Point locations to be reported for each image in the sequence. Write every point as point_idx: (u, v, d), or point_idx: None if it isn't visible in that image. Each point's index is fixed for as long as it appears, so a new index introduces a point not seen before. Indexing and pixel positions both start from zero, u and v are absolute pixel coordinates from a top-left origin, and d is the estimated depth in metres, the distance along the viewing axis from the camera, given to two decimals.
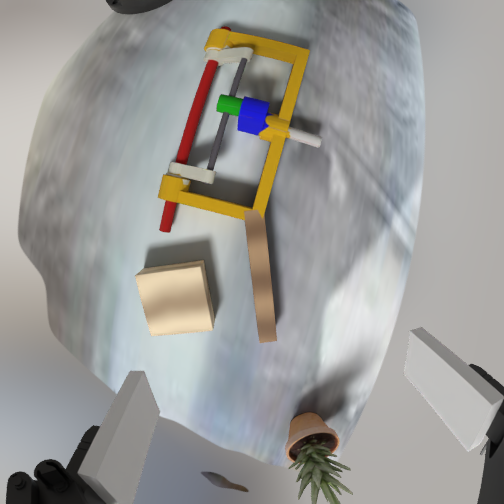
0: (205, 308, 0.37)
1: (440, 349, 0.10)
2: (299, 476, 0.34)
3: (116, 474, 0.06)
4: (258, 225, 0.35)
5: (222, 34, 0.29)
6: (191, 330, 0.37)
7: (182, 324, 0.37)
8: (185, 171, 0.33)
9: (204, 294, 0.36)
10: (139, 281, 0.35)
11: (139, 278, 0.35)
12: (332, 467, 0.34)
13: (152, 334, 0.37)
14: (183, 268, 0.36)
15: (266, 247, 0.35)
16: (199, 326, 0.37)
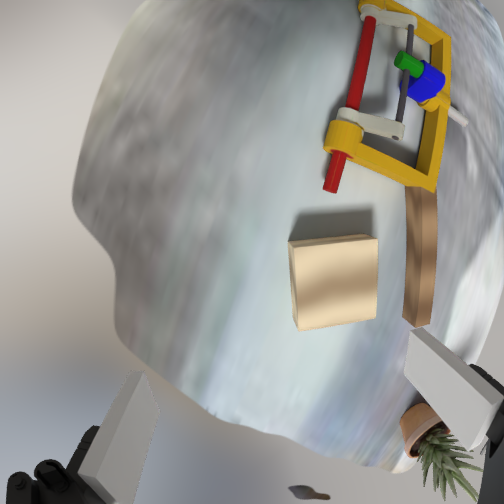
0: (374, 291, 0.29)
1: (440, 349, 0.10)
2: (426, 469, 0.26)
3: (116, 474, 0.06)
4: (431, 195, 0.27)
5: None
6: (352, 319, 0.29)
7: (343, 313, 0.29)
8: (366, 120, 0.25)
9: (376, 273, 0.28)
10: (298, 256, 0.27)
11: (299, 252, 0.27)
12: None
13: (300, 329, 0.29)
14: (356, 240, 0.28)
15: (436, 219, 0.27)
16: (362, 314, 0.29)
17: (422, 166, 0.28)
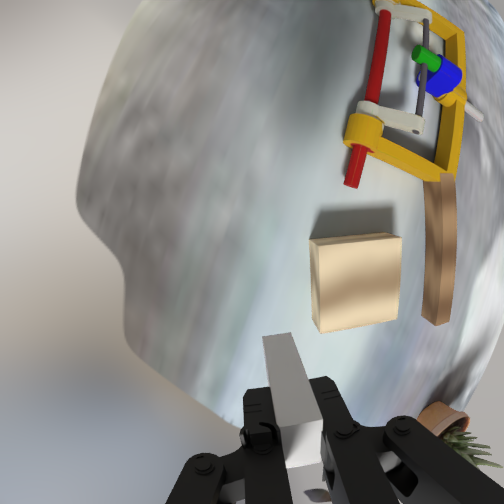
0: (396, 291, 0.27)
1: (291, 356, 0.12)
2: None
3: None
4: (450, 190, 0.25)
5: None
6: (374, 321, 0.27)
7: (366, 314, 0.27)
8: (386, 114, 0.23)
9: (399, 273, 0.26)
10: (323, 255, 0.26)
11: (324, 250, 0.26)
12: None
13: (322, 331, 0.27)
14: (381, 239, 0.26)
15: (455, 215, 0.26)
16: (384, 315, 0.27)
17: (441, 161, 0.26)
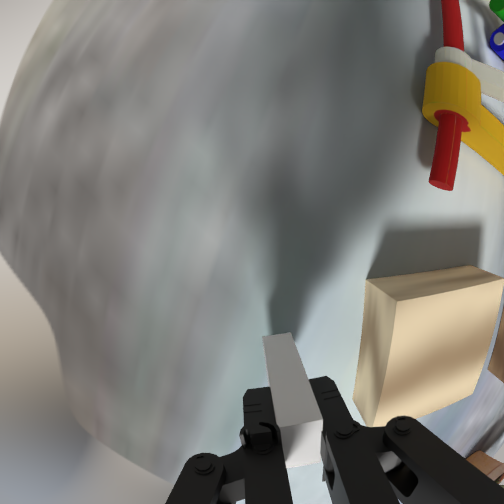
0: (482, 358, 0.13)
1: (291, 356, 0.12)
2: None
3: None
4: None
5: None
6: (446, 403, 0.14)
7: (439, 397, 0.13)
8: (484, 72, 0.09)
9: (492, 332, 0.13)
10: (402, 317, 0.12)
11: (405, 309, 0.12)
12: None
13: None
14: (481, 282, 0.12)
15: None
16: (460, 392, 0.14)
17: None
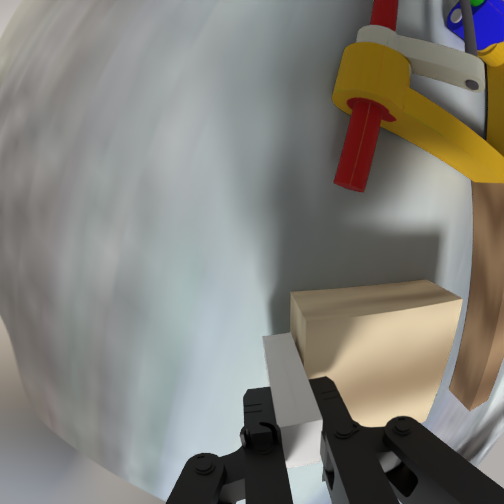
0: (435, 385, 0.13)
1: (290, 356, 0.12)
2: None
3: None
4: None
5: None
6: None
7: (379, 423, 0.13)
8: (415, 49, 0.09)
9: (446, 358, 0.13)
10: (315, 339, 0.12)
11: (318, 330, 0.12)
12: None
13: None
14: (429, 302, 0.12)
15: None
16: None
17: (498, 149, 0.12)
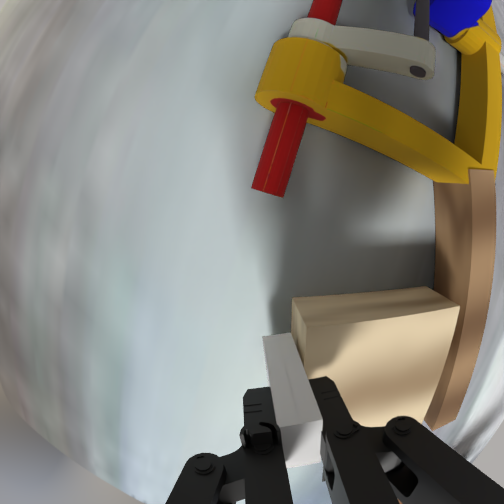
0: (431, 389, 0.13)
1: (290, 356, 0.12)
2: None
3: None
4: (488, 205, 0.11)
5: None
6: None
7: (376, 426, 0.14)
8: (349, 38, 0.09)
9: (443, 363, 0.13)
10: (314, 343, 0.12)
11: (317, 335, 0.12)
12: None
13: None
14: (427, 309, 0.12)
15: (493, 253, 0.12)
16: None
17: (467, 146, 0.12)
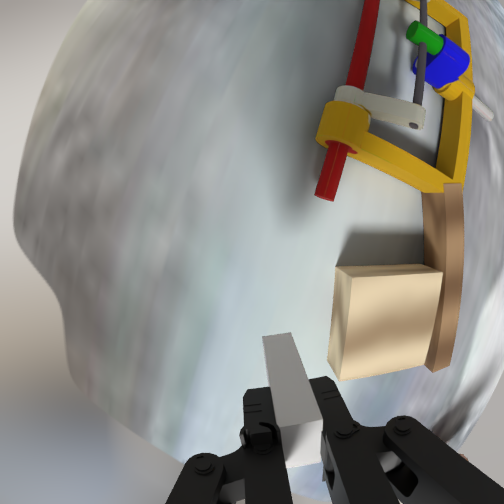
0: (429, 333, 0.21)
1: (291, 356, 0.12)
2: None
3: None
4: (457, 206, 0.19)
5: None
6: (400, 367, 0.21)
7: (393, 359, 0.21)
8: (374, 102, 0.17)
9: (435, 313, 0.21)
10: (356, 289, 0.20)
11: (358, 283, 0.20)
12: None
13: (342, 378, 0.21)
14: (421, 272, 0.20)
15: (463, 237, 0.20)
16: (412, 360, 0.21)
17: (444, 167, 0.20)
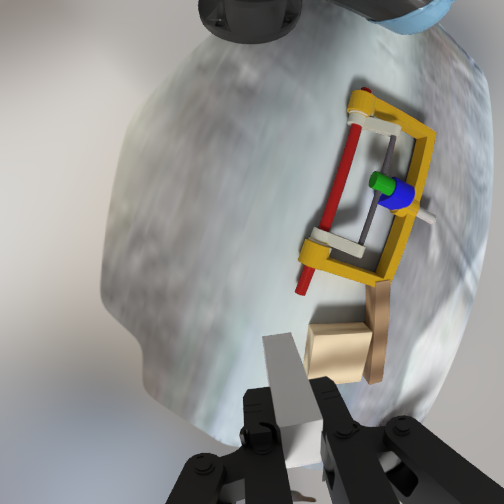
0: (362, 364, 0.39)
1: (291, 356, 0.12)
2: None
3: None
4: (385, 293, 0.37)
5: (370, 99, 0.31)
6: (344, 381, 0.39)
7: (339, 377, 0.39)
8: (334, 241, 0.35)
9: (366, 353, 0.38)
10: (316, 341, 0.37)
11: (317, 338, 0.37)
12: None
13: None
14: (357, 332, 0.38)
15: (388, 311, 0.37)
16: (351, 378, 0.39)
17: (382, 267, 0.38)
